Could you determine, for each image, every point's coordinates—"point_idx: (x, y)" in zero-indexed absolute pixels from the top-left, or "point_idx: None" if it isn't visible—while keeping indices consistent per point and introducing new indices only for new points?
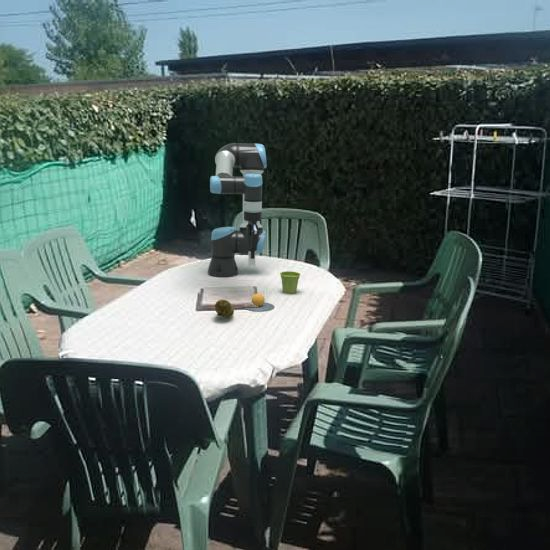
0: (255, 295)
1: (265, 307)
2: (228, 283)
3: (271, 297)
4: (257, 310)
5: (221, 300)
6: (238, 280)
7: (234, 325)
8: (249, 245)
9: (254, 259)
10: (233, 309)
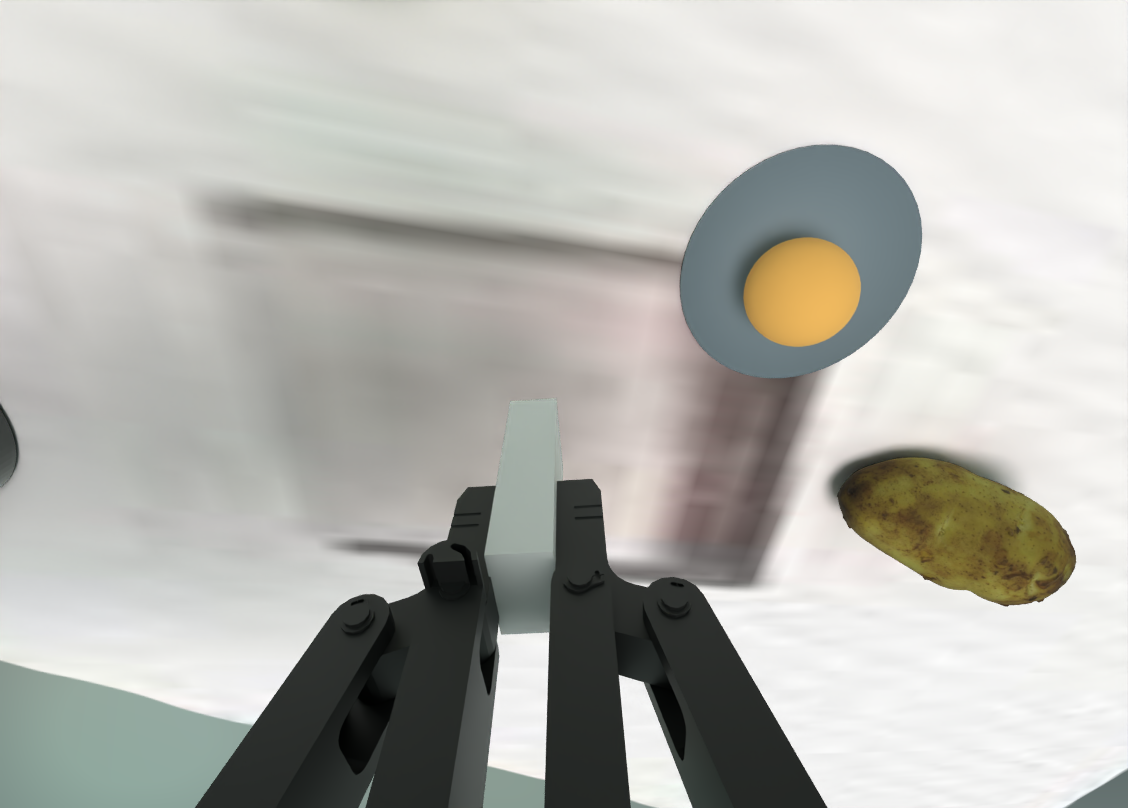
0: (829, 333)
1: (842, 228)
2: (176, 400)
3: (565, 113)
4: (886, 299)
5: (1028, 594)
6: (55, 319)
7: (1070, 458)
8: (490, 718)
9: (554, 458)
10: (986, 485)
